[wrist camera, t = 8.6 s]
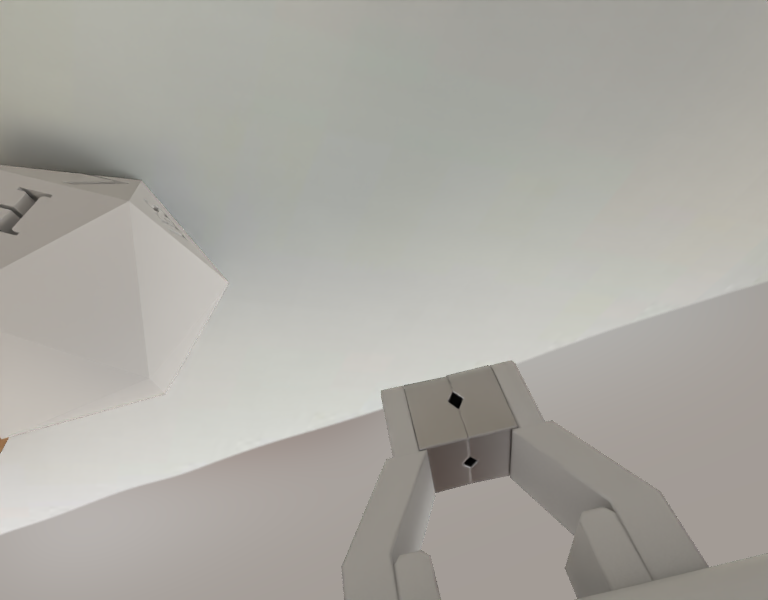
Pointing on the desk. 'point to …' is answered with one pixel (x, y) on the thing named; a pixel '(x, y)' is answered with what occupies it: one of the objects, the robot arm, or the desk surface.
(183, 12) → the desk surface
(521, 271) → the desk surface
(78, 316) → the die
